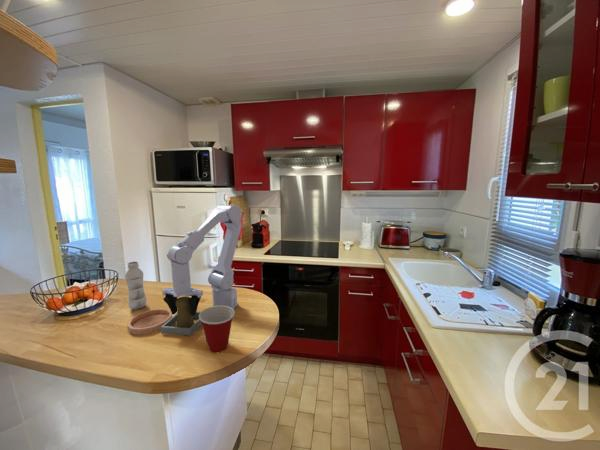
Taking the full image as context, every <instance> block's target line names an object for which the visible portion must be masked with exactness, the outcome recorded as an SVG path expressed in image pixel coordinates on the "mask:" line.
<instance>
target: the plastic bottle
mask: <svg viewBox="0 0 600 450" xmlns="http://www.w3.org/2000/svg"><path fill="white" fill-rule="evenodd" d="M127 269H128V270H127V271H126V273H125V276H124V278H125V279H124V280H125V281H126V285H127V289H128V302H127V303H128V308H129V309H130V310H133V311H134V310H136V311H137V310H140V309H143V308H144V307H146V305H147V300H148V299H147V296H146V294H145V291H144V272H143V270H142V269H141V268H140V266H139V261H131V262H128V263H127Z"/></svg>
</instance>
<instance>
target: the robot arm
mask: <svg viewBox="0 0 600 450" xmlns="http://www.w3.org/2000/svg"><path fill="white" fill-rule="evenodd" d="M242 217H243V212H242V210H241V208H240V207H239V206H238V205H235V204H234V205H232V204H219V205H217V206H216V208H214V209H213V210H212V213H211V214H210V215H209V216H208V218H206V220H205V221H204V222H203V223H202V224H201V225H200V226H199V227H198V228H197V229H194V230H191V231H188V232H187V233H186V236H184V238H183V239H181V241H178V242H177V245H173V246H172V247H170V248H169V250H168V253H167V254H166V257H167V259H168V260H169V262H170V266H171V267H170V269H171V277H172V287H171V288H167V287H166V288H164V289H162V290H161V291H162V296H165V297H163V302H165V304H167V306H168V307H169V310H170V311H171V312H172V316H174V315H176V314H177V312H178V308H177V307H176V300H177V299H178V298H180V297H183V296H188V297H190V299H188V302H189V304H190V308H191V315H192V316H194V315H195V314H196V312H198V306H199V303H200V300H201V298H202V297H203V295H204V294H203V293H204V292H203V289H196V288H194V287H192V285H191V284H192V283H191V274H190V273H191V271H190V261H191V259H192V258H193V253H194V252H195V251H196V250H197V249H198V248H199V247H200V245H202V244H203V243H204V242H205V236H206V235H207V234H208V233H209V232H211V230H212V229H214V228H215V227H216V226H217V225H218V224H219V223H223V224H224V225H225V226H226V233H225V236H224V238H223V239H224V240H223V243H222V246H221V251H220V255H219V258H218V260H217V261H218V262H217V264H216V265H214V266H213V267H212V270H211V272H210V273H209V275H208V277H207V281H208V284H209V285H211V292H212V305H213V306H227V307H231V308H232V309H234V310H235V309H236V308H237V306H238V305H239V303H238V291H237V289H236V288H234V287H232V286H233V285H234V282H235V281H234V274H235V272H234V270H233V268H232V265H233V261H234V256H235V252H236V250H237V249H236V248H237V244H238V240H239V237H240V233H241V230H242Z"/></svg>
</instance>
